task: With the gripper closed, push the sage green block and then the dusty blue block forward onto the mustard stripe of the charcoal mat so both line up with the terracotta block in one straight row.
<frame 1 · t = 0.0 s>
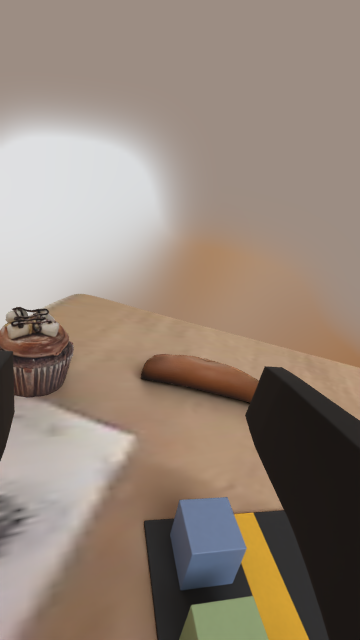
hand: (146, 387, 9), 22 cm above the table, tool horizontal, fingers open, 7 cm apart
blue block: (199, 558, 26), resting on line mat
cupcake: (33, 380, 44), on the table
sunglasses case: (200, 383, 51), on the table
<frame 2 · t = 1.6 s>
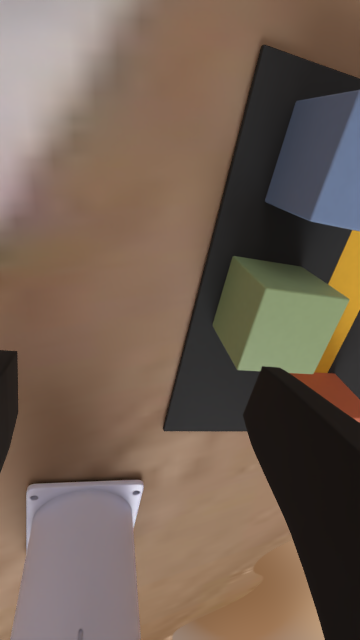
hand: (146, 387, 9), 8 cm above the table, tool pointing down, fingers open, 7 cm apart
blue block: (317, 164, 15), resting on line mat
terracotta block: (297, 395, 23), resting on line mat
line mat: (337, 304, 20), on the table
sage block: (255, 296, 18), resting on line mat
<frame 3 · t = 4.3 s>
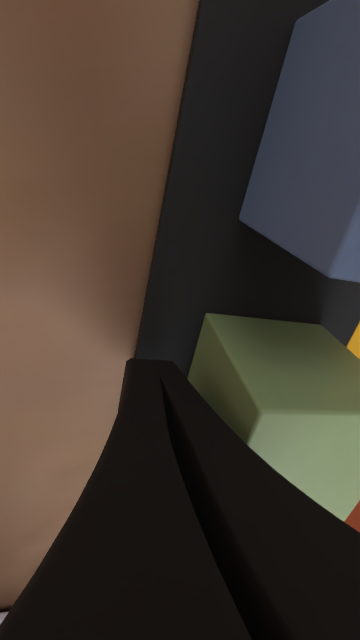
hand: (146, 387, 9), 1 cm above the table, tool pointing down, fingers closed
blue block: (335, 151, 8), resting on line mat
line mat: (358, 372, 13), on the table
sage block: (246, 370, 11), resting on line mat, touching gripper
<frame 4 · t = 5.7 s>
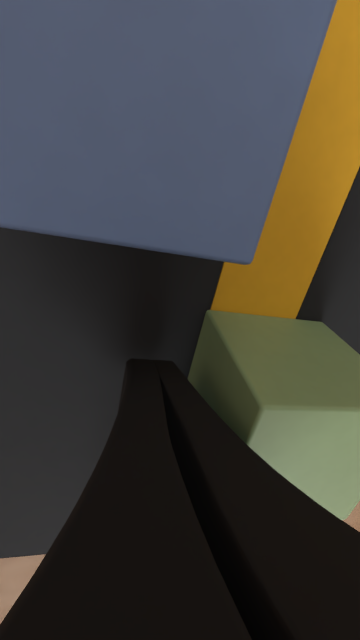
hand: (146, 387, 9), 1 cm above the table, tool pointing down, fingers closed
blue block: (117, 90, 7), resting on line mat
line mat: (232, 364, 12), on the table
sage block: (247, 367, 11), resting on line mat, touching gripper
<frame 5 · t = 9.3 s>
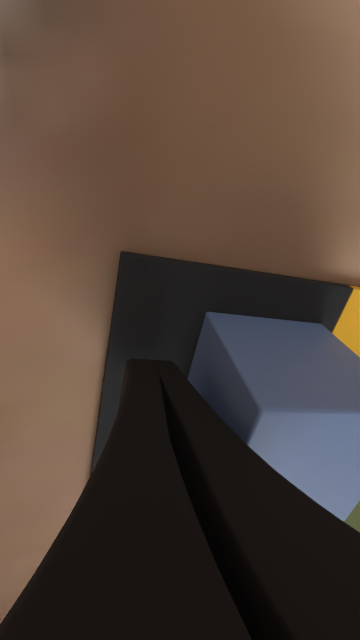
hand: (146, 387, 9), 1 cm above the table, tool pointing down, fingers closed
blue block: (247, 369, 11), resting on line mat
line mat: (278, 486, 16), on the table
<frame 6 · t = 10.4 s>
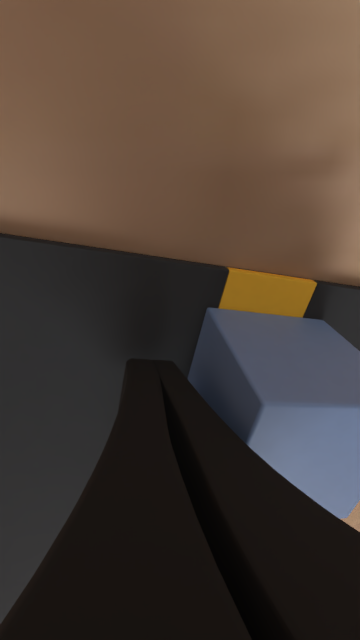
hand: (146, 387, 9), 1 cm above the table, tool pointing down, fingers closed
blue block: (248, 366, 11), resting on line mat, touching gripper
line mat: (193, 490, 15), on the table
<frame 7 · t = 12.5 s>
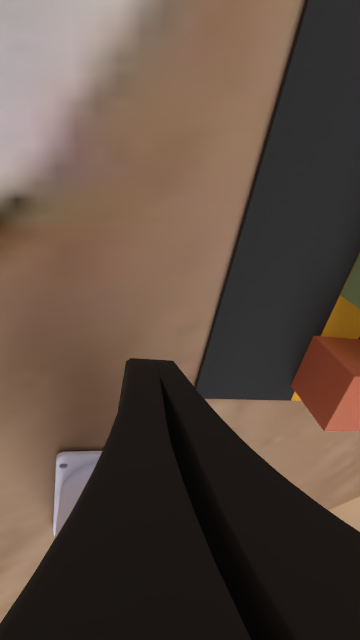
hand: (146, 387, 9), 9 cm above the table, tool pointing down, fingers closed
terracotta block: (327, 362, 23), resting on line mat
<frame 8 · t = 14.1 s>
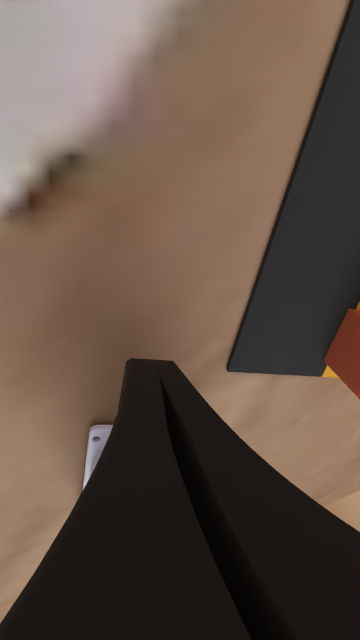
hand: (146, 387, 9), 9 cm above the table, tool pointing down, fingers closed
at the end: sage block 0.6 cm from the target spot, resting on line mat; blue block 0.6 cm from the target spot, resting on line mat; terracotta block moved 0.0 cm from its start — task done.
